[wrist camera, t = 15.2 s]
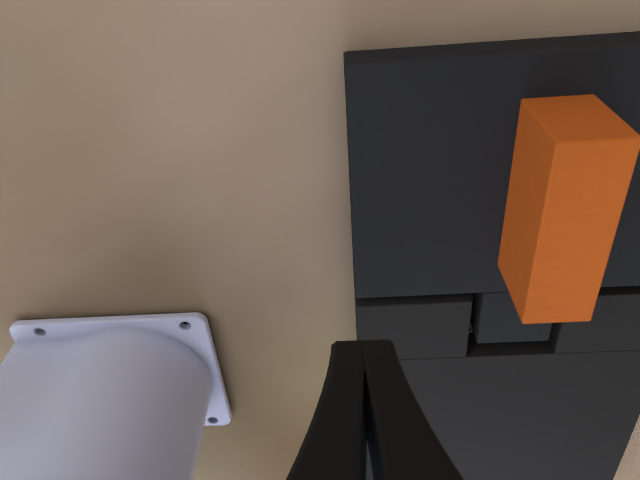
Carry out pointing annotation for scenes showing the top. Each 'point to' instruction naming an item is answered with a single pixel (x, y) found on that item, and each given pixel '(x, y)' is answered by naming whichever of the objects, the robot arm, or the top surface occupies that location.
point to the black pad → (518, 385)
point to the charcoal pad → (497, 176)
